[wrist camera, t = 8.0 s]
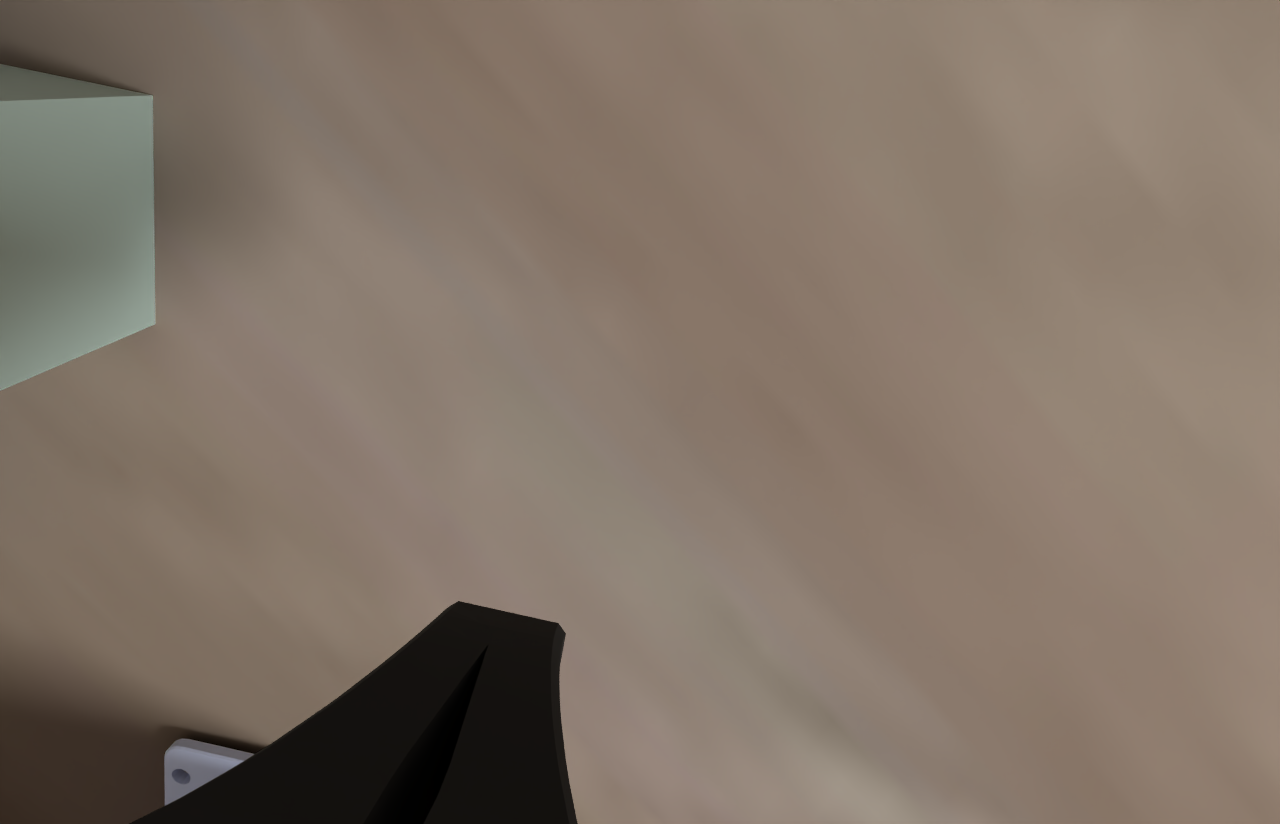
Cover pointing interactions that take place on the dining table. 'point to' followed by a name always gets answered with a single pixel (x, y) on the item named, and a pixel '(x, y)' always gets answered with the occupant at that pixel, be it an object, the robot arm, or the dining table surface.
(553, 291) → the dining table surface
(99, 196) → the block
